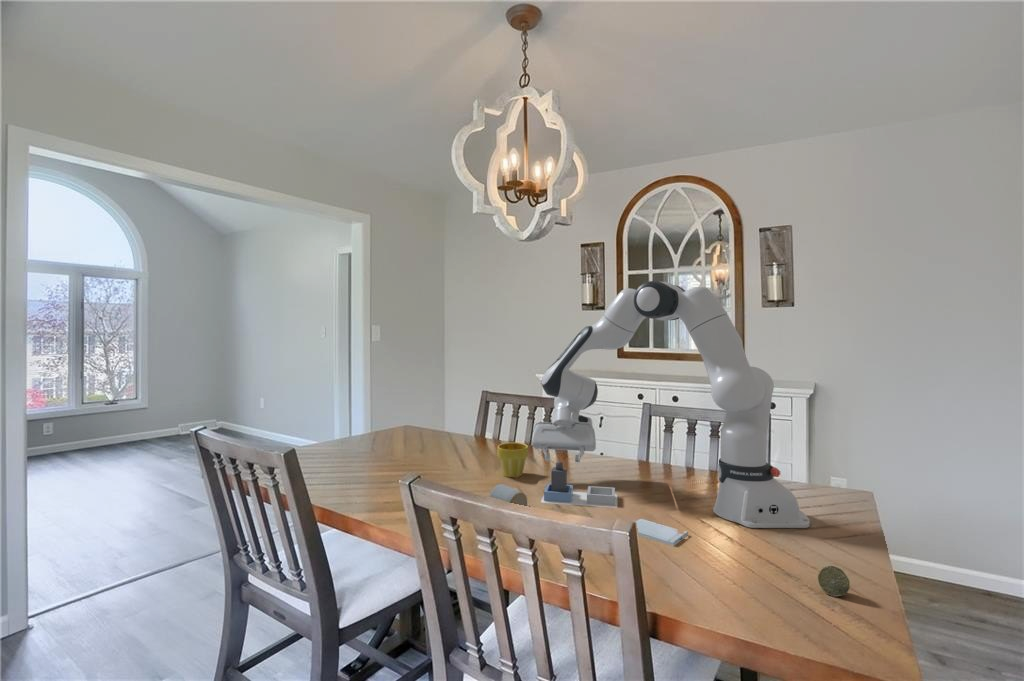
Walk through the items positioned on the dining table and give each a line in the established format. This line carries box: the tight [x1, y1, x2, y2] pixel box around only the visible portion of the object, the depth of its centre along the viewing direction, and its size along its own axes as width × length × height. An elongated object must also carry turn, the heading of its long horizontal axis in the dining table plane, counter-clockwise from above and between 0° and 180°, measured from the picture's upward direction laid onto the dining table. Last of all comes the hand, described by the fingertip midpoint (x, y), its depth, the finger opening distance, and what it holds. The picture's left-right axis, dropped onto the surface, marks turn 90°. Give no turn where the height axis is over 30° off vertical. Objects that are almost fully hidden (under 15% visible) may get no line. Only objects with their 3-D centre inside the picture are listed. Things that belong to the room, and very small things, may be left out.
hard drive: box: [634, 518, 689, 547], centre depth 123 cm, size 2×8×12 cm
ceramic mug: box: [489, 483, 530, 506], centre depth 135 cm, size 11×8×8 cm
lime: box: [817, 565, 851, 597], centre depth 95 cm, size 4×5×5 cm
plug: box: [550, 461, 568, 492], centre depth 146 cm, size 4×4×10 cm
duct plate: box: [540, 483, 618, 509], centre depth 145 cm, size 21×11×4 cm, turn 78°
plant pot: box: [497, 442, 529, 478], centre depth 171 cm, size 10×10×10 cm
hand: (562, 460), depth 157 cm, fingers open, 8 cm apart
